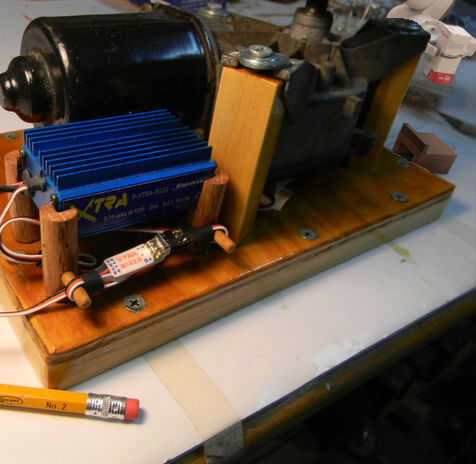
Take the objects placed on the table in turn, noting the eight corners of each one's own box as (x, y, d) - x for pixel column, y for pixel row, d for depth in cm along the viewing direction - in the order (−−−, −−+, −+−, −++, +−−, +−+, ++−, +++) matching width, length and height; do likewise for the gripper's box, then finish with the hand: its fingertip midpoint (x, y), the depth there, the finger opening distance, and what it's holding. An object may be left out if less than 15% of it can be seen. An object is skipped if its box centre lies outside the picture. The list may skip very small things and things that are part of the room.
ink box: (450, 85, 116) (473, 36, 108) (429, 82, 116) (451, 33, 109) (441, 73, 122) (463, 26, 115) (422, 70, 123) (442, 23, 116)
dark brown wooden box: (424, 150, 108) (437, 124, 104) (447, 173, 101) (462, 146, 97) (392, 148, 108) (403, 122, 103) (412, 172, 100) (425, 144, 96)
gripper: (390, 20, 122) (415, 37, 111) (463, 25, 124) (495, 42, 113) (381, 45, 126) (404, 63, 115) (452, 50, 128) (482, 68, 117)
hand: (450, 53), depth 114 cm, fingers closed on ink box, 5 cm apart
